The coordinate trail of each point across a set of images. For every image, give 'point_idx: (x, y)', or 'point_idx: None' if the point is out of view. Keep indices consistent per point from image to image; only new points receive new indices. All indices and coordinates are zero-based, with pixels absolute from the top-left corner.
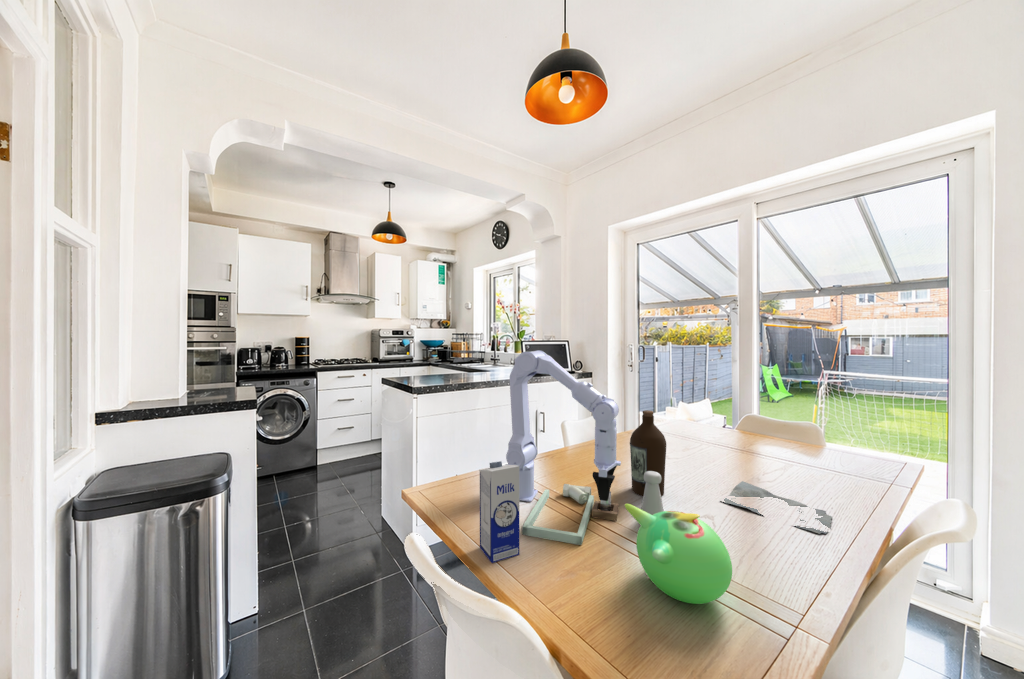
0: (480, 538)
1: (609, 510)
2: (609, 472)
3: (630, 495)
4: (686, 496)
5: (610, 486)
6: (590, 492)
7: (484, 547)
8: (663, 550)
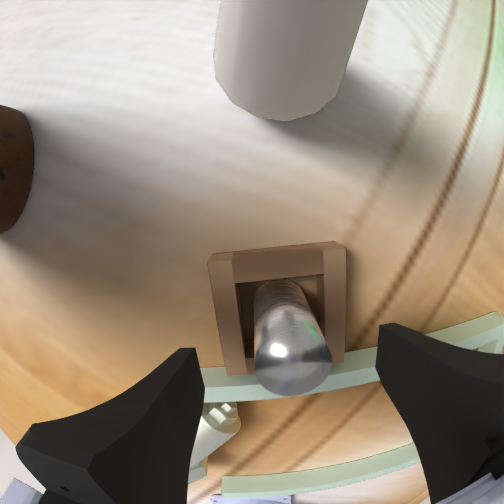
0: None
1: (300, 292)
2: (158, 446)
3: (41, 227)
4: (9, 49)
5: (482, 352)
6: None
7: None
8: None
